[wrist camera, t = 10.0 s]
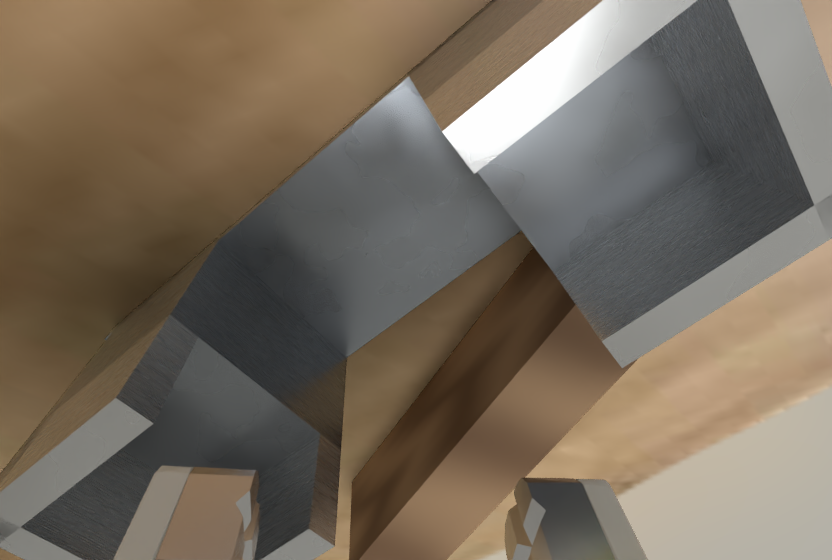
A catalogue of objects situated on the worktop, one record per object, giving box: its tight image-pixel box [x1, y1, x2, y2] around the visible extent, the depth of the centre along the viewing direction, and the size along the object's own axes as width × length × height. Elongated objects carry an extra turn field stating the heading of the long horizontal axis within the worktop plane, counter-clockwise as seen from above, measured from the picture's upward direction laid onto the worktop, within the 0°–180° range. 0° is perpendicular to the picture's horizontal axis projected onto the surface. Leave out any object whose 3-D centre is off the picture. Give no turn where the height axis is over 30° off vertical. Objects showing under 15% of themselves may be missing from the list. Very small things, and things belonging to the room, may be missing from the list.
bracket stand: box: [0, 0, 832, 560], centre depth 16 cm, size 22×7×10 cm, turn 128°
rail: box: [349, 247, 637, 560], centre depth 22 cm, size 17×3×5 cm, turn 148°
